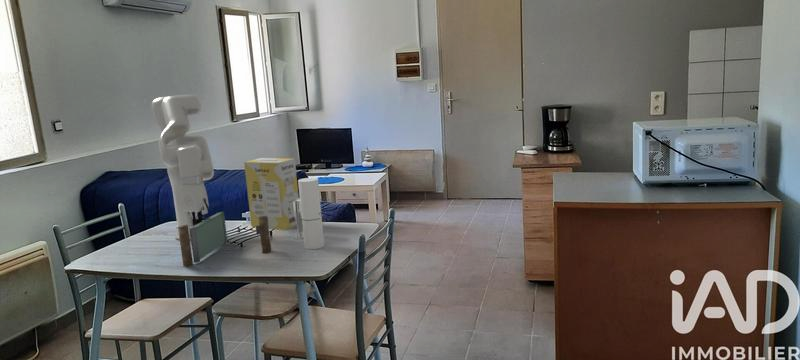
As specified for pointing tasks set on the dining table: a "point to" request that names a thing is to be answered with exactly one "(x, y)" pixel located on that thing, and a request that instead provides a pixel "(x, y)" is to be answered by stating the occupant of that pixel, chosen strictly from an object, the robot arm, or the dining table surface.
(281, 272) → the dining table surface
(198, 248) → the gate
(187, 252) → the hinge post
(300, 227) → the beer glass
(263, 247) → the post
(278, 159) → the pasta box
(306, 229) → the cylindrical container
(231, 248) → the dining table surface
